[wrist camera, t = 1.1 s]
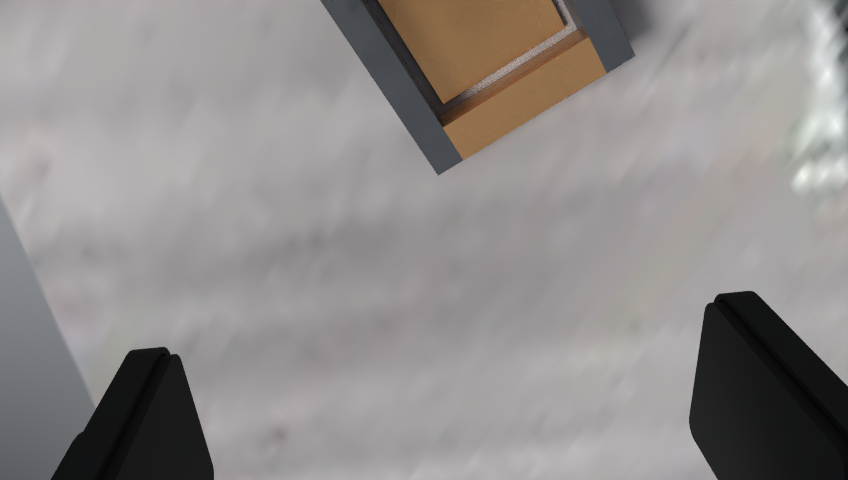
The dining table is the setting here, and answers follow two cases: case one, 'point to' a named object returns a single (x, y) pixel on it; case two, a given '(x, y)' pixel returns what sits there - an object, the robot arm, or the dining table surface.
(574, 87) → the grey rectangular frame
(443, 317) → the dining table surface
